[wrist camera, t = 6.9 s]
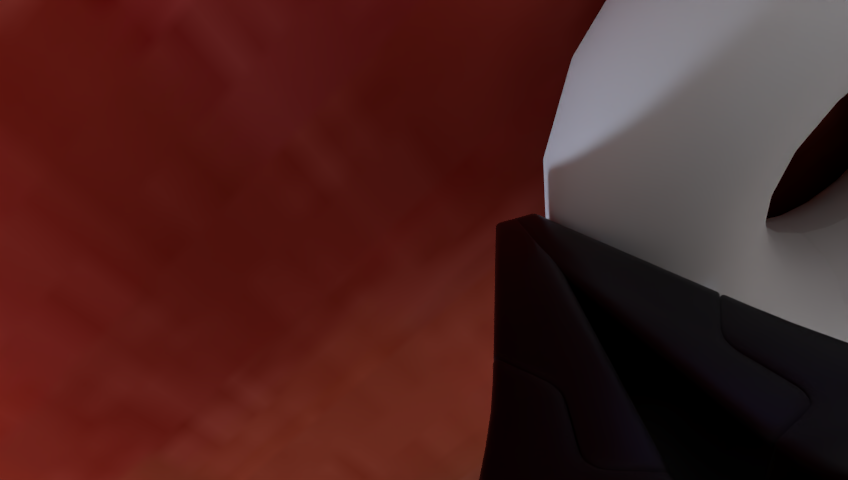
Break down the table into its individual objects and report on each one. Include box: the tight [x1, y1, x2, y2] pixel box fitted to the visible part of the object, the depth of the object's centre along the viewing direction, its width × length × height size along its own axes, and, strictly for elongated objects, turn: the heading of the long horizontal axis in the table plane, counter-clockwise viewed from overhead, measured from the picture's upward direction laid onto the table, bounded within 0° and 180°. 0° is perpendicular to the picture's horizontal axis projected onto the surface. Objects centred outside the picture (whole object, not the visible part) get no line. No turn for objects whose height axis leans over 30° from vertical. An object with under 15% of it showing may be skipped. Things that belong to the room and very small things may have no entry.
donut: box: [543, 0, 848, 342], centre depth 9 cm, size 10×4×10 cm
